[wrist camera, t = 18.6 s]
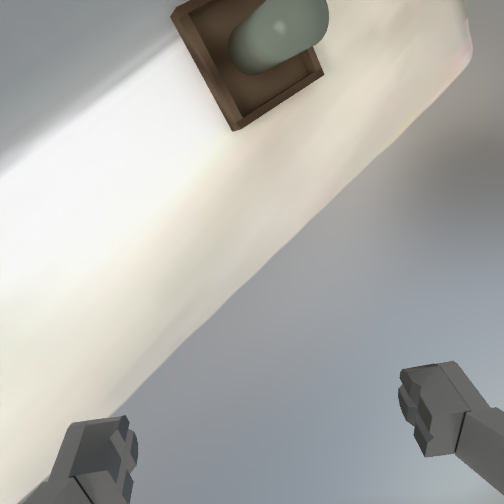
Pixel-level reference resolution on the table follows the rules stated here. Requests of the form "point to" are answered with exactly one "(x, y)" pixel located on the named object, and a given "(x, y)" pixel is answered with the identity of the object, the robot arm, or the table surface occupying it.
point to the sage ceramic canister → (277, 33)
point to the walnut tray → (223, 69)
